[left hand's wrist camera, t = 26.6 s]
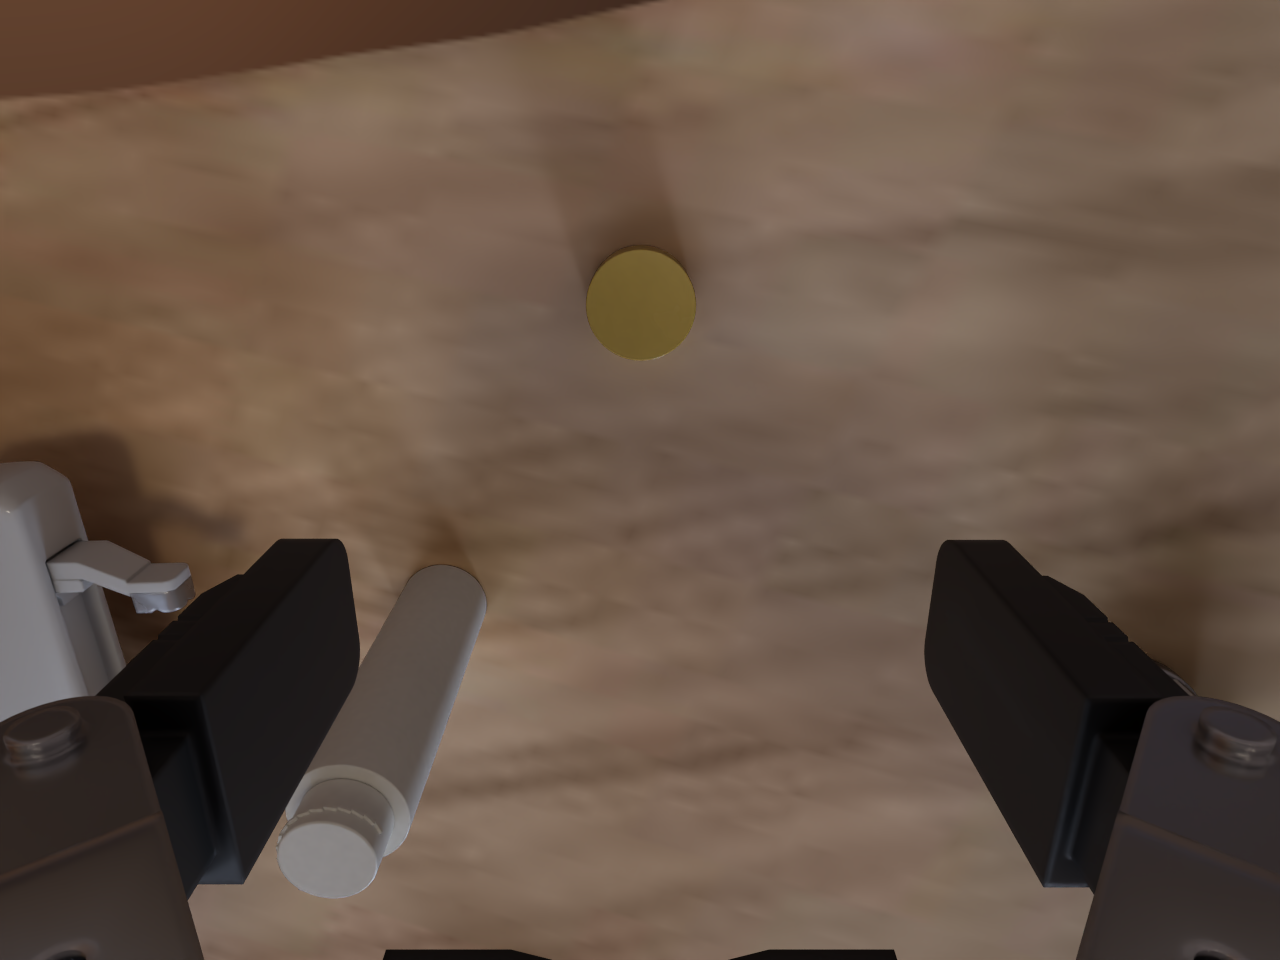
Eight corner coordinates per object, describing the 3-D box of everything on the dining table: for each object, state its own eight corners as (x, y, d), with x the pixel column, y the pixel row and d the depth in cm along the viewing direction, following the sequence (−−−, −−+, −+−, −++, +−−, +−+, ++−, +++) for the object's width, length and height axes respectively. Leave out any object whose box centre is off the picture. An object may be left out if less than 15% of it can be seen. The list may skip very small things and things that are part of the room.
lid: (641, 370, 38) (642, 382, 36) (567, 299, 37) (563, 307, 35) (714, 297, 37) (718, 305, 35) (640, 221, 36) (640, 224, 34)
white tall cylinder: (429, 549, 41) (295, 787, 25) (502, 592, 42) (417, 848, 26) (388, 611, 43) (236, 874, 27) (460, 651, 44) (355, 930, 27)
